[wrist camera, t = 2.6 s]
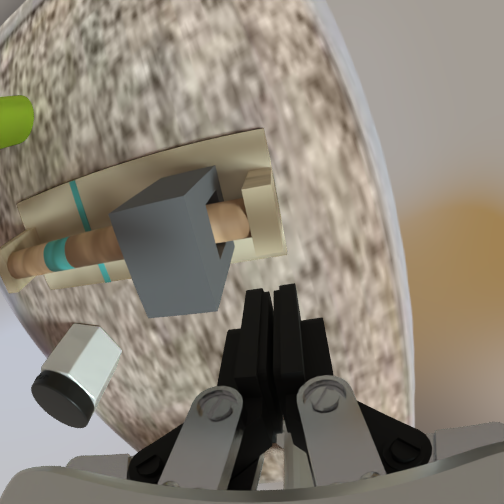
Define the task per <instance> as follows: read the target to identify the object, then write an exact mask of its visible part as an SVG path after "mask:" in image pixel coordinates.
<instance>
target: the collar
mask: <svg viewBox="0 0 504 504" xmlns="http://www.w3.org/2000/svg"><path fill="white" fill-rule="evenodd" d="M223 201H224V199H223V195H222V191H221V187H220V183H219V178H218V174H217V170H216V166H215V165H214V166H209V167H205V168H200V169H196V170H192V171H187V172H183V173H179V174H175V175H171V176H167V177H163V178H160V179H159V180H157V181H156V182H154V183H153V184H151V185H150V186H148V187H147V188H145V189H144V190H142V191H141V192H139V193H138V194H136V195H135V196H133V197H132V198H130V199H129V200H128V201H126V202H125V203H123V204H122V205H120V206H119V207H118V208H116V209H115V210H113V211H112V212H111V213H109V214H108V215H109V218H110V221H111V224H112V227H113V229H114V232H115V235H116V238H117V241H118V244H119V246H120V249H121V252H122V254H123V257H124V260H125V262H126V265H127V268H128V270H129V273H130V275H131V278H132V280H133V283H134V285H135V288H136V290H137V293H138V295H139V297H140V300H141V302H142V304H143V307H144V309H145V311H146V314H147V316H148V318H156V317H167V316H177V315H187V314H197V313H206V312H215V311H218V308H219V304H220V300H221V296H222V293H223V289H224V285H225V281H226V278H227V274H228V270H229V267H230V263H231V259H232V256H233V252H234V248H235V245H234V241H227V242H221V243H215V239H214V235H213V232H212V228H211V224H210V220H209V216H208V212H207V209H206V205H208V204H213V203H218V202H223Z"/></svg>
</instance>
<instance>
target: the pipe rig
mask: <svg viewBox="0 0 504 504" xmlns="http://www.w3.org/2000/svg"><path fill="white" fill-rule="evenodd" d="M214 165H215V166H216V170H217V174H218V178H219V183H220V187H221V191H222V195H223V199H224V201H223V202H218V203H213V204H208V205H206V209H207V212H208V216H209V220H210V224H211V228H212V232H213V235H214V239H215V243H221V242H227V241H234V245H235V248H234V252H233V256H232V259H231V263H230V264H232V263H238V262H245V261H251V260H257V259H264V258H270V257H277V256H283V255H287V248H286V242H285V237H284V231H283V225H282V220H281V214H280V209H279V203H278V198H277V193H276V187H275V182H274V177H273V172H272V167H271V162H270V156H269V151H268V146H267V142H266V137H265V132H264V128H261V129H256V130H251V131H246V132H241V133H236V134H231V135H226V136H222V137H217V138H213V139H209V140H204V141H200V142H196V143H192V144H188V145H184V146H180V147H177V148H173V149H169V150H165V151H162V152H158V153H155V154H151V155H148V156H144V157H141V158H138V159H134V160H131V161H128V162H125V163H122V164H119V165H115V166H112V167H109V168H106V169H103V170H101V171H98V172H95V173H92V174H89V175H86V176H84V177H81V178H78V179H75V180H73V181H70V182H67V183H65V184H62V185H60V186H57V187H55V188H52V189H50V190H47V191H45V192H42V193H40V194H37V195H35V196H33V197H30V198H28V199H26V200H24V201H21V202H19V203H17V207H18V210H19V213H20V216H21V219H22V222H23V225H24V227H25V231H24V232H22V233H20V234H19V235H17V236H16V237H14V238H13V239H11V240H10V241H8V242H7V243H5V244H4V245H3V246H1V247H0V275H1V278H2V280H3V282H4V284H5V286H6V288H7V290H8V292H9V293H16V292H19V291H20V290H21V289H22V288H24V287H25V286H26V285H27V284H28V283H29V282H30V281H31V280H32V279H33V278H35V277H36V276H37V275H43V274H44V276H45V278H46V281H47V283H48V285H49V287H50V289H51V290H55V289H62V288H69V287H76V286H83V285H90V284H97V283H104V282H105V283H107V282H111V281H118V280H125V279H132V278H131V275H130V273H129V270H128V268H127V265H126V262H125V260H124V257H123V254H122V252H121V249H120V246H119V244H118V241H117V238H116V235H115V232H114V229H113V227H112V224H111V221H110V218H109V215H108V214H109V213H111V212H112V211H113V210H115V209H116V208H118V207H119V206H120V205H122V204H123V203H125V202H126V201H128V200H129V199H130V198H132V197H133V196H135V195H136V194H138V193H139V192H141V191H142V190H144V189H145V188H147V187H148V186H150V185H151V184H153V183H154V182H156V181H157V180H159V179H160V178H163V177H167V176H171V175H175V174H179V173H183V172H187V171H192V170H196V169H200V168H205V167H209V166H214Z"/></svg>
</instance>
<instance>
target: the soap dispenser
mask: <svg viewBox="0 0 504 504" xmlns="http://www.w3.org/2000/svg"><path fill="white" fill-rule="evenodd" d="M33 121H34V112H33V107H32V104H31V102H30V101H29V99H28V98H27V97H25V96H22V95H18V96H7V97H0V149H2V148H5V147H9V146H12V145H16V144H20V143H22V142H23V141H25V140H26V139H27V137H28V136H29V134H30V132H31V130H32V126H33Z"/></svg>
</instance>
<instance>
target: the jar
mask: <svg viewBox="0 0 504 504" xmlns="http://www.w3.org/2000/svg"><path fill="white" fill-rule="evenodd" d="M121 352H122V350H121V349H120V348H119V347H118V346H117V345H116V343H115V342H114V341H113V340H112V339H111V338H110V337H109V336H108V335H107V334H106V333H105V332H104V330H103V329H102V328H101V327H99V326H91V325H83V324H76V323H74V324H73V325H72V326H71V328H70V329H69V330H68V332H67V333H66V334H65V335H64V337H63V338H62V339H61V341H60V342H59V343H58V345H57V346H56V347H55V349H54V350H53V352H52V353H51V354H50V356H49V357H48V358H47V360H46V361H45V363H44V364H43V365H42V367H41V373H40V375H39V376H37V378H36V379H35V381H34V383H33V385H32V387H31V391H32V394H33V397H34V398H35V400H36V401H37V403H38V404H39V405H40V406H41V407H42V408H43V409H44V410H45V411H46V412H47V413H48V414H49V415H51V416H52V417H53V418H55V419H56V420H58V421H60V422H62V423H64V424H66V425H68V426H71V427H75V428H84V427H86V425H87V424H88V422H89V420H90V418H91V416H92V415H93V413H94V411H95V409H96V407H97V405H98V403H99V401H100V399H101V397H102V395H103V393H104V391H105V389H106V387H107V385H108V383H109V381H110V379H111V377H112V375H113V373H114V372H115V370H116V367H117V364H118V361H119V358H120V355H121Z"/></svg>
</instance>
